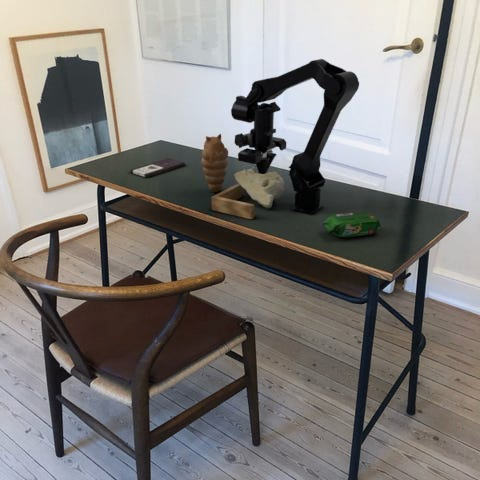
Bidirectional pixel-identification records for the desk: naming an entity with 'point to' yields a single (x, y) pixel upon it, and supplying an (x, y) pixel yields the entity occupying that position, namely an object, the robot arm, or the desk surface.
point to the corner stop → (232, 203)
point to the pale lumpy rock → (261, 185)
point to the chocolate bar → (157, 167)
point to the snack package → (352, 224)
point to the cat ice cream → (214, 162)
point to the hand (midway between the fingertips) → (262, 177)
